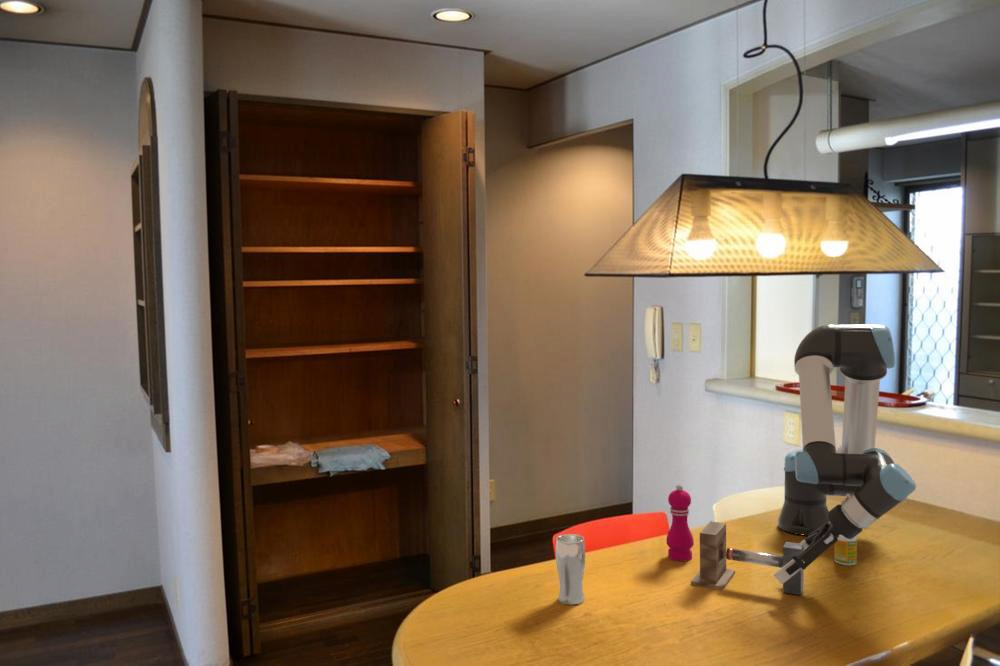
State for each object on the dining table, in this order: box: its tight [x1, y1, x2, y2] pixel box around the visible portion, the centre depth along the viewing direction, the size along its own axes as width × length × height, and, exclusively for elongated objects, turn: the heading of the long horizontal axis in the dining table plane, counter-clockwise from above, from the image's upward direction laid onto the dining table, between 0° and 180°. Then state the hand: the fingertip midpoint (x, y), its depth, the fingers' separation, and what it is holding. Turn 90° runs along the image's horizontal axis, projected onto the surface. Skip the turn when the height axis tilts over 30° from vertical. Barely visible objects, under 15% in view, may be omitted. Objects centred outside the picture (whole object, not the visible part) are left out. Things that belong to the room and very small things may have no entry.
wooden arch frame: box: [690, 520, 736, 591], centre depth 196 cm, size 8×12×13 cm, turn 150°
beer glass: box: [555, 533, 586, 606], centre depth 186 cm, size 7×7×15 cm
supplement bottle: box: [833, 535, 858, 566], centre depth 205 cm, size 5×5×10 cm
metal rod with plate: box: [726, 541, 805, 596], centre depth 190 cm, size 18×4×11 cm, turn 60°
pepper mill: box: [665, 484, 694, 562], centre depth 212 cm, size 7×7×20 cm
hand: (782, 569), depth 188 cm, fingers open, 13 cm apart
